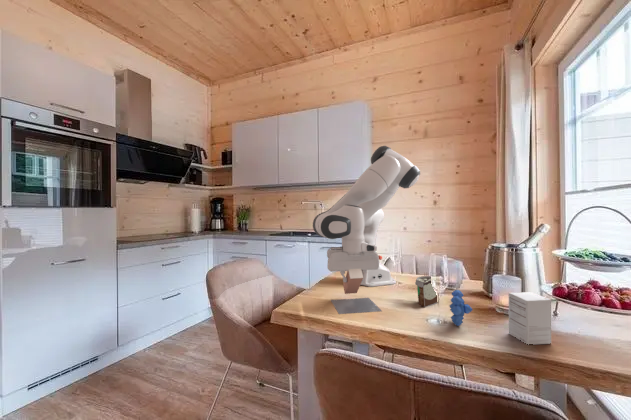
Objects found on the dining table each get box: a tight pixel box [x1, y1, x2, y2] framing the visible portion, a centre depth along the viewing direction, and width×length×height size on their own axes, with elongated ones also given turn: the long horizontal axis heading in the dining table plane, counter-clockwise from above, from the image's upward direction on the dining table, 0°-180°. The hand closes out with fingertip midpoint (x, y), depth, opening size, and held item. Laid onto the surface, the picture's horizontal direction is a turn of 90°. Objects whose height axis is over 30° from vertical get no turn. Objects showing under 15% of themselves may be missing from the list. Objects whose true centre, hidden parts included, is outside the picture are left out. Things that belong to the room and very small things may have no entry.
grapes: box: [449, 289, 473, 327], centre depth 92 cm, size 12×7×12 cm, turn 148°
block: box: [342, 269, 363, 295], centre depth 112 cm, size 5×4×12 cm
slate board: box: [330, 297, 383, 315], centre depth 109 cm, size 16×15×1 cm
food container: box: [414, 275, 438, 309], centre depth 114 cm, size 12×6×10 cm, turn 124°
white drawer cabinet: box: [508, 291, 552, 346], centre depth 83 cm, size 7×7×13 cm
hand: (353, 281), depth 111 cm, fingers closed on block, 5 cm apart
